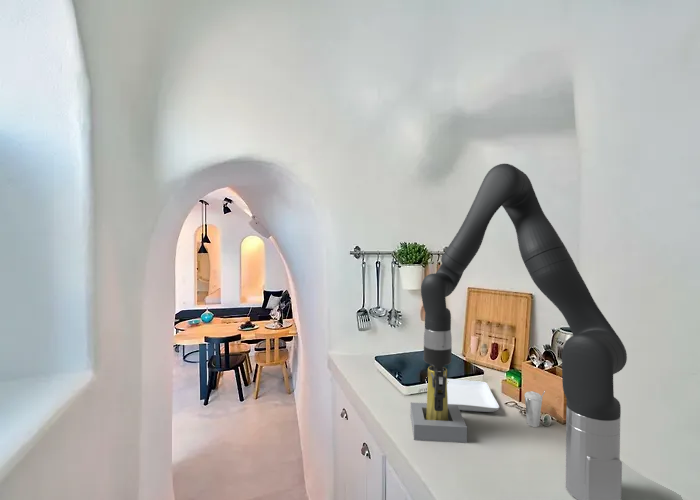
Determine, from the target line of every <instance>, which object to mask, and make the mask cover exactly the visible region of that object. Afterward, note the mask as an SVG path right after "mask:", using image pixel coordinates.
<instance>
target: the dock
mask: <svg viewBox="0 0 700 500" xmlns="http://www.w3.org/2000/svg"><path fill="white" fill-rule="evenodd" d="M426 411H427V402H410V421H411V430H412V435H413V440H414V441H429V442H430V441H431V442H446V443H447V442H448V443H466V444H467V443H468V426H467V424H466V421H465V420H464V417H463V415H462V413H461V410H459V408H458V406H457V405H455V404H448V421H439V420H426Z"/></svg>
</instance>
